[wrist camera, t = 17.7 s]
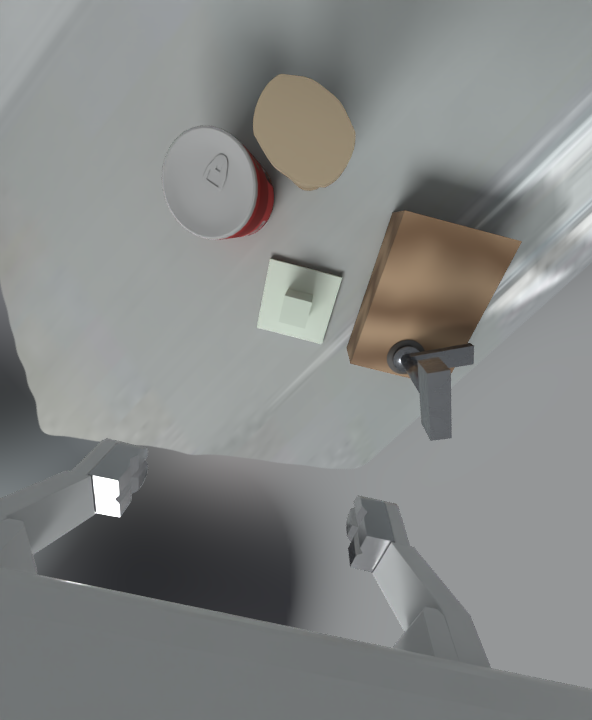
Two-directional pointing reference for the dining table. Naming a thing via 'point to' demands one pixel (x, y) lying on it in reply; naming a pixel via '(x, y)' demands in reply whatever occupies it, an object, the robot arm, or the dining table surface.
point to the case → (426, 288)
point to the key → (433, 382)
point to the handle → (303, 131)
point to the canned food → (215, 185)
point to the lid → (297, 301)
